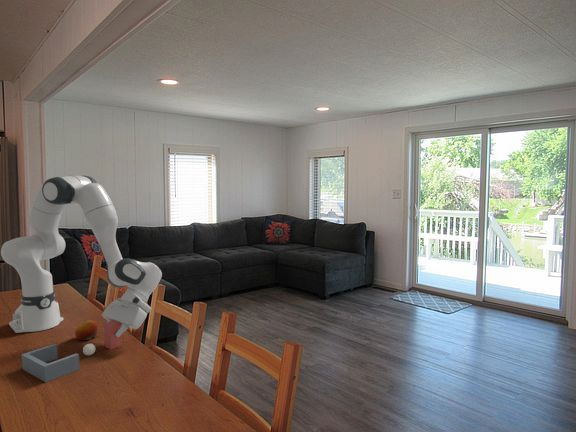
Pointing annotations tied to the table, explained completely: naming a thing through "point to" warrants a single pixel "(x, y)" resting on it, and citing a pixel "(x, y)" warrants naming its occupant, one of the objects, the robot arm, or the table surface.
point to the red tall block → (111, 334)
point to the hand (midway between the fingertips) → (110, 333)
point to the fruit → (86, 330)
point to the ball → (89, 349)
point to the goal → (46, 372)
